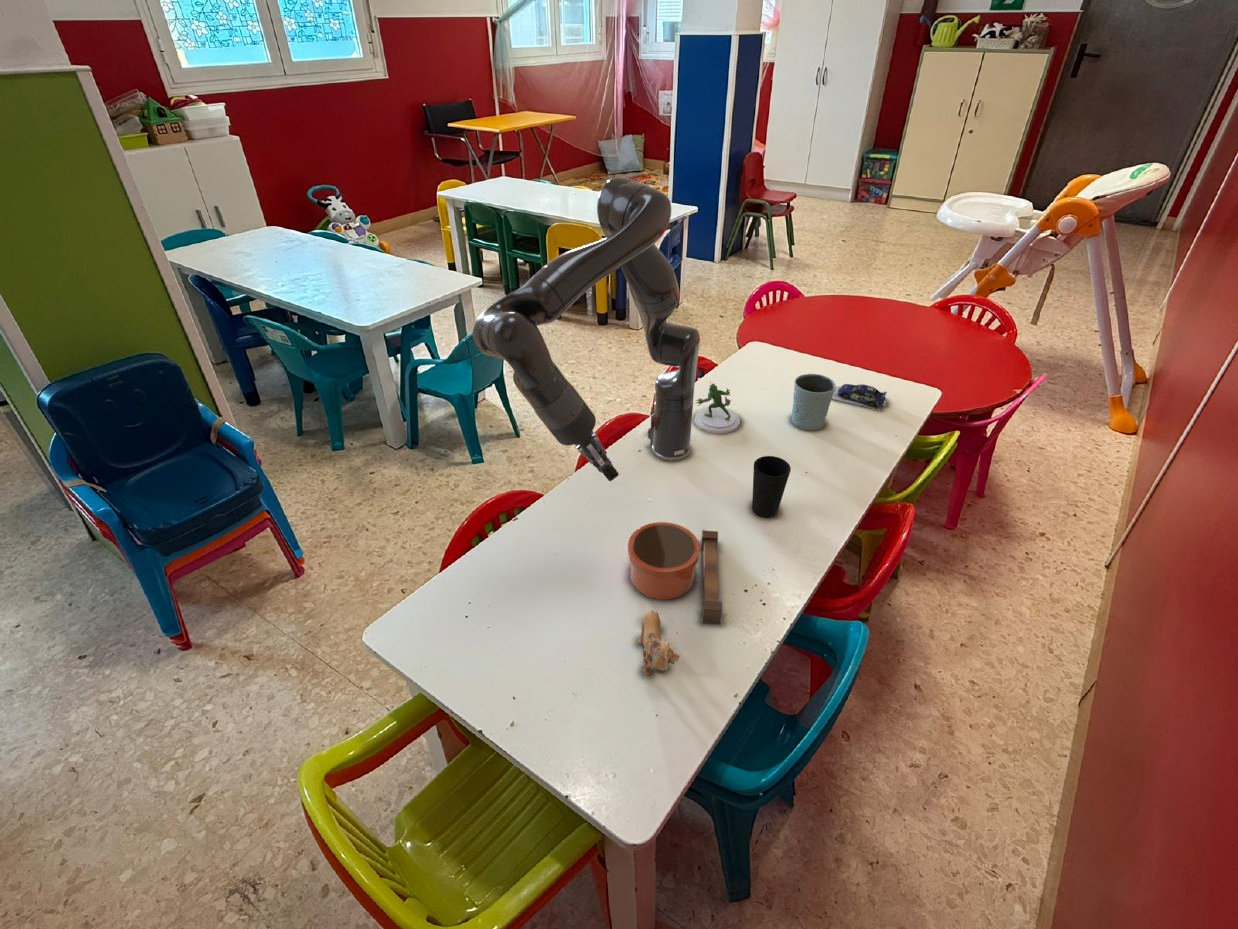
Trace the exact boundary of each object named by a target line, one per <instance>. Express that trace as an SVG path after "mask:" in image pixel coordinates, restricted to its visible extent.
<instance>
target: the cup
mask: <svg viewBox="0 0 1238 929" xmlns="http://www.w3.org/2000/svg"><path fill="white" fill-rule="evenodd" d="M791 470H792V467H791V464H790V463H789V462H788V461H786V460H785V459H783V458H781V457H778V456H775V455H774V456H773V455H764V456H761V457H758V458H756V459H755V460H754V462H753V473H752V474H753V476H752V500H751V505H752V506H751V510H752V512H753V514H755V515H756V516H758V517H760V518H764V519H770V518H773V517H776V516H777V514H778V511H779V509H780V505H781V502H782V499H783V496H784V493H785V491H786V490H785V489H786V486H787V483H788V480H789V477H790V473H791Z"/></svg>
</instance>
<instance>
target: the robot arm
mask: <svg viewBox="0 0 1238 929" xmlns="http://www.w3.org/2000/svg"><path fill="white" fill-rule="evenodd" d="M596 204H597V205H596V213H597V219H598V223H599V225H600V227H601V231H602V232H603V234H604V235H605V237H604V238H602V239H600V240H598V241H595V242H593V243H589V244H587V245H583V246H581V247H577V248H575V249H571V250H568V251H565V252H564V253H561V254H559V255H558V256H556V257H555V258H553V259H551V260H550V261H549V262H547V263H545V265H544V266H542V267H541V268H540V269H539V270H538V271H536V273H535V274H534V275H532V277H530V278H529V279H528V280H527V281H526V283H524V284H523V285H521V286H520V287H518V289H515V290H514V291H512V292H510V293H508V294H507V295H505V296H504V297H502V298H501V299H498V300H497V301H495V302H494V303H493V304H491V305H490V306H488V307H487V308H486V309H485V310H483V312H482V313H481V314H480V315H479V316H478V317H477V318H476V320H475V322H474V325H473V328H472V332H471V333H472V334H471V335H472V340H473V344H474V345H475V347H476V349H477V350H478V351H479V352H480V353H481V354H483V355H486V356H488V357H492V358H494V359H495V358H496V359H500V360H504V361H505V362H506V363H507V364H508V365H509V367H511V369H512V370H513V375H512V380H513V383H514V385H515V387H516V389H517V390H518V391H519V392H520V394H521V395H522V396H523V397H524V398H525V400H526V401H527V402H528V403H529V405H530V406H531V408H532V409H533V411H534V413H535V414H536V416H537V418H538V419H539V420H540V421H541V422H542V424H544V426H545V428H546V429H548V431H549V432H550V434H552V436H553V437H554V438H555V440H556V441H557V442H558V443H559V444H561V445H562V446H573V445H574V446H575V447H576V450H577V451H578V452H579V453H580V455H581V456H584V457H585V458H586V460H587V461H588V462H589V464H591V465H592V466H593V467H594V468H596V470H597V471H598V472H600V473H601V474H602V475H604V477H605V478H606V480H607V481H609V482H612V481H613V480H615V479H616V478H618V476H619V472H618V470H617V469H616V468H615V467H614V465H613V462H612V461H611V459H610V458H609V457H608V455H607V453H608V452H607V451H606V449H605V448H604V446H603V445H602V443H601V440H600V438H599V437H598V435H597V434H596V433H595V431H593V430H594V429H595V427H596V423H597V419H596V416H595V414H594V412H593V411H592V410H591V408H590V407H589V406H588V405H587V403H586V401H585V400H584V399H583V397H582V396H581V395H580V393H579V391H577V389H576V388H575V386H574V385H573V384H571V382H570V381H568V379H567V378H566V376H565V375H564V374H563V373H562V371H561V370H560V368H559V367H558V366H557V365H556V363H555V362H554V361H553V358H552V355H551V354H550V351H549V347H548V346H547V344H546V341H545V338H544V337H543V334H542V333H541V331H540V329H539V328H538V326H541V325H542V326H543V325H548V324H551V323H553V322H555V321H556V320H557V319H558V318H560V317H561V316H562V315H563V314H564V313H565V312H566V311H567V310H568V309H569V308H571V306H572V305H574V304H575V303H576V301H578V300H579V299H580V298H581V296H583V295H584V294H585V293H586V292H588V291H589V290H590V289H591V288H592V287H594V286H595V285H596V284H598V283H599V282H600V281H602V280H603V279H605V278H606V277H608V276H610V275H611V274H613V273H614V272H616V271H617V270H618V269H620V268H621V271H622V273H623V275H624V278H625V281H626V283H627V286H628V289H629V292H630V296H631V299H632V301H633V303H634V306H635V308H636V310H637V313H638V315H639V317H640V322H641V325H642V328H643V331H644V332H643V333H644V337H645V341H646V344H647V345H646V346H647V351H648V353H649V356H650V359H651V360H652V361H653V362H655V363H657V364H659V365H663V366H668V367H672V368H677V369H676V370H671V371H670V370H669V371H666V372H663V373H660V374H659V375H658V376H657V378H656V379H655V382H654V400H653V401H654V404H653V406H654V407H653V413H652V414H651V416H650V428H648V429H647V439H649V440H650V442H649V443H650V444H649V448H650V449H652V453H653V455H654V456H655V457H656V458H658V459H661V460H663V461H668V462H676V461H681V460H684V459H686V458H687V457H688V456H689V455H690V452H691V437H692V423H693V408H694V396H695V394H694V393H695V384H696V379H697V368H698V360H699V355H700V354H699V353H700V346H701V336H700V332H699V330H698V329H697V328H695V327H690V326H685V325H680V324H674V323H669V322H667V319H669V318H670V317H671V316H672V314H674V312H675V310H677V307H678V304H679V301H680V288H679V283H678V280H677V276H676V272H675V270H674V267H673V266H672V264H671V263H670V261H669V260H668V258H667V257H666V256H665V255H664V254H663V252H662V251H661V250H660V249H659V248H658V246H657V245H656V244H657V243H658V241H659V240H660V239H661V238H662V237H663V236H664V234H665V232H666V231H667V229H668V227H669V225H670V221H671V219H672V218H671V217H672V203H671V201H670V198H669V197H668V196H667V195H666V194H665V193H664V192H662V191H661V190H659V189H657V188H654V187H653V186H650V185H647V184H645V183H643V182H640V181H637V180H635V179H632V178H629V177H625V176H616V177H615V176H614V177H612V178H610V179H608V180H607V181H606V182H605V183H604V184H603V186H602V187H601V189H600V191H599V194H598V198H597V203H596Z"/></svg>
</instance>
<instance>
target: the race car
mask: <svg viewBox="0 0 1238 929" xmlns="http://www.w3.org/2000/svg"><path fill="white" fill-rule="evenodd" d="M887 393H888V392H887V391H883V392H881V391H880V390H878V389H877V387H875V386H871V385H868V384H862V383H861V384H851V383H850V384H849V383H844V384H842V385H841V386H840V387H837V386H836V387H835V390H834V393H833V396H832V399H831V401H837V402H840V403H841V402H842V403H846V404H850V405H855V406H859V407H863V408H867V409H873V410H876V411H881V412H882V410H881V409H882V407H886V406H887V400H886V395H887Z"/></svg>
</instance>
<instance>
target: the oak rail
mask: <svg viewBox="0 0 1238 929" xmlns="http://www.w3.org/2000/svg"><path fill="white" fill-rule="evenodd" d="M718 542H719V532H718V530H717V531H716V530H701V536H700V551H702V568H703V573H702V574H703V606H702V618H701V619H702V623H703V624H714V625H715V624H716V625H721V623H722V622H721V621H722V615H723V601H720V596H719V594H720V592H719V577H718V576H719V575H718V574H719V573H718V558H717V551H718Z"/></svg>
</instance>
